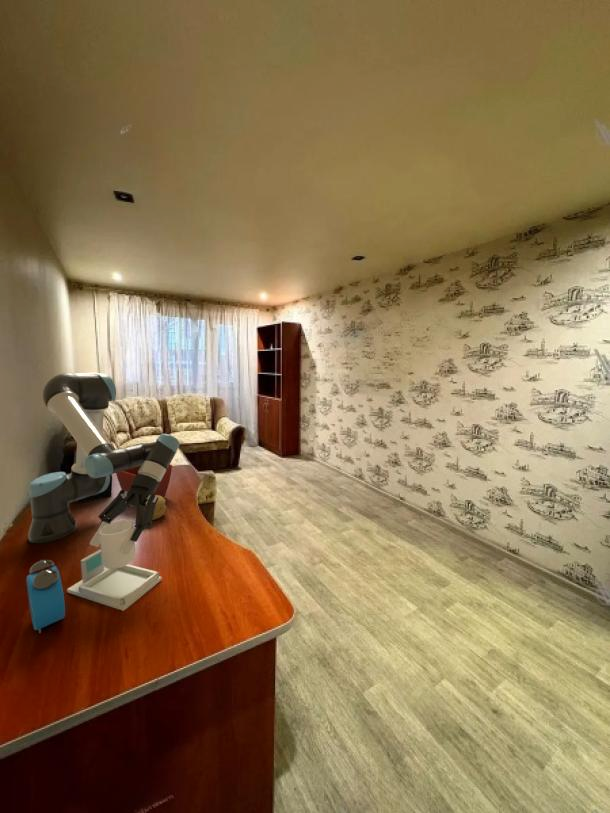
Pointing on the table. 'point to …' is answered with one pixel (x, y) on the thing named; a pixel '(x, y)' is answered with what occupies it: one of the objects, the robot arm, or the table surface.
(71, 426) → the robot arm
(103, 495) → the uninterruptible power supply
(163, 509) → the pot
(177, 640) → the table surface
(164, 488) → the plant pot
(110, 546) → the cup
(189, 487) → the table surface
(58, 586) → the alarm clock
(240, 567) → the table surface
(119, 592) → the dock
